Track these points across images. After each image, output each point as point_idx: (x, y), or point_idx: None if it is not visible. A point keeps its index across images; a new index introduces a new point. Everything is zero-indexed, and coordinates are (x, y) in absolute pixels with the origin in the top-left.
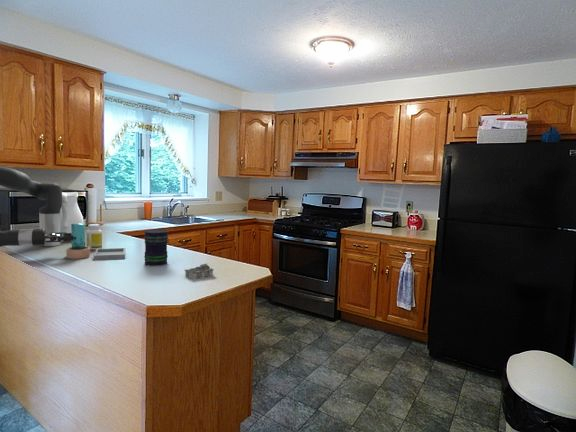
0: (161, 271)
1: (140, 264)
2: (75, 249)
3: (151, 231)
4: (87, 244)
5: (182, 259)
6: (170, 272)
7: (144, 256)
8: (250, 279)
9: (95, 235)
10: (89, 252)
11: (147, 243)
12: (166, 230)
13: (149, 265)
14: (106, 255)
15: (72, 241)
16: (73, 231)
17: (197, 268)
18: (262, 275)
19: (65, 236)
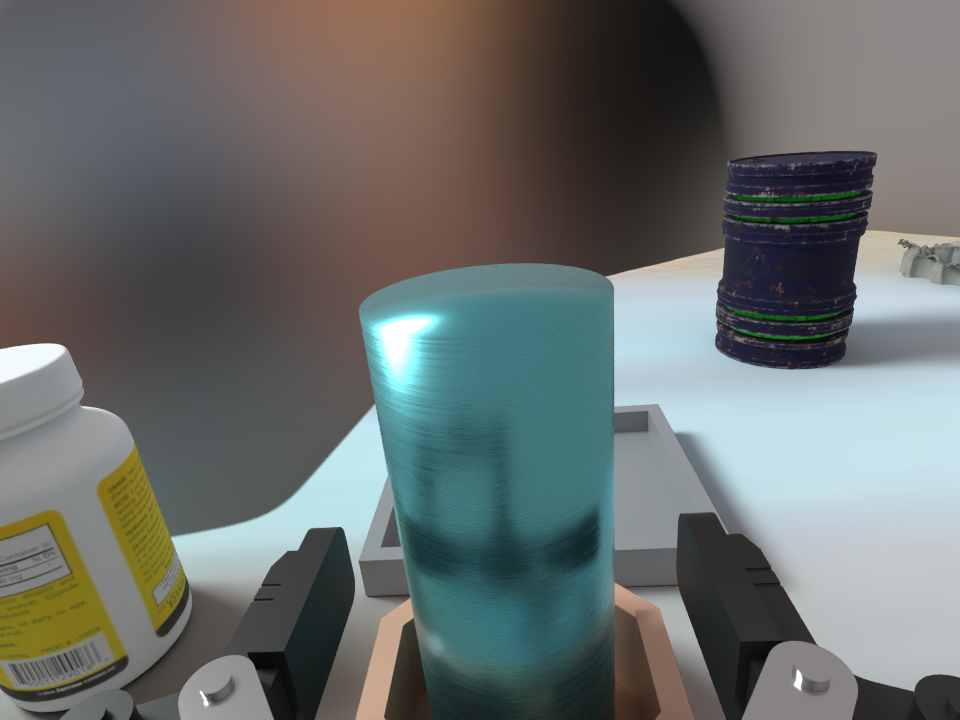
0: (954, 328)
1: (823, 377)
2: (614, 691)
3: (817, 160)
4: (81, 649)
5: (671, 307)
6: (957, 314)
7: (816, 324)
8: (944, 238)
9: (136, 476)
10: None
11: (859, 232)
12: (753, 157)
13: (844, 354)
14: (697, 476)
15: (582, 634)
16: (598, 449)
17: (936, 260)
18: (879, 232)
19: (762, 616)
